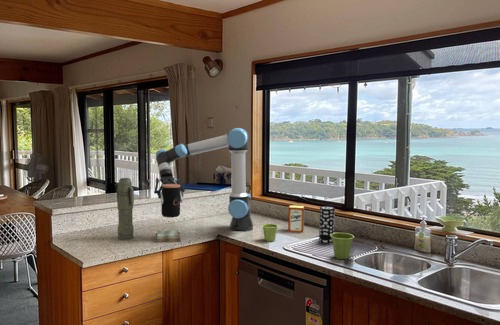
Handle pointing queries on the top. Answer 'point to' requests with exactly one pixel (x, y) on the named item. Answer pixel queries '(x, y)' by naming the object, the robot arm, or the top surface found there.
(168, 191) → the coffee jar
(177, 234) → the plinth
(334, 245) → the plant pot
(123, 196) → the thermos
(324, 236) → the spotted tube
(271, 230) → the plant pot
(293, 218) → the baking soda box
